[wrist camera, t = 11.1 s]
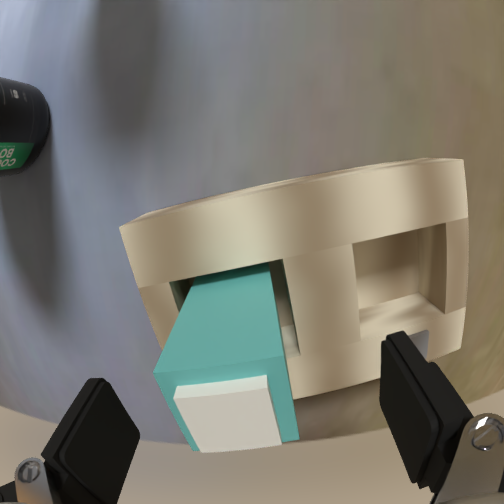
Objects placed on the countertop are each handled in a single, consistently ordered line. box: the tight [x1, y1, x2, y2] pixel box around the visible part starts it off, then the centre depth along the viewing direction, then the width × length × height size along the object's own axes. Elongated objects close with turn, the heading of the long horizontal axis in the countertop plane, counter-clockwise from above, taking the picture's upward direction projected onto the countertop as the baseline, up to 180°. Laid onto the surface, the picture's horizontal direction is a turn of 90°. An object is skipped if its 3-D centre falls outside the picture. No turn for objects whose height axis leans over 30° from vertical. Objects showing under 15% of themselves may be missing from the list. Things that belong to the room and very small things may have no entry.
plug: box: [153, 262, 300, 453], centre depth 14 cm, size 4×4×11 cm
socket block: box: [119, 158, 469, 399], centre depth 17 cm, size 18×12×5 cm, turn 102°
